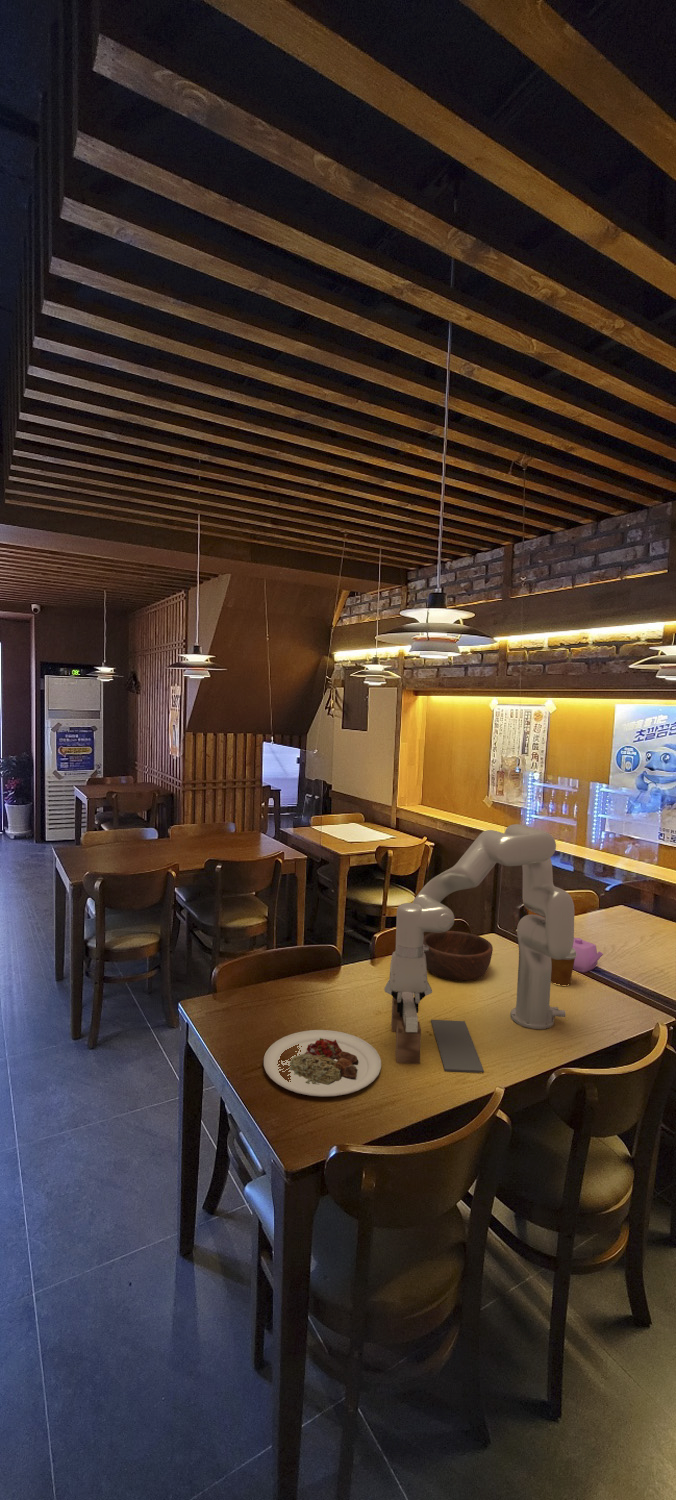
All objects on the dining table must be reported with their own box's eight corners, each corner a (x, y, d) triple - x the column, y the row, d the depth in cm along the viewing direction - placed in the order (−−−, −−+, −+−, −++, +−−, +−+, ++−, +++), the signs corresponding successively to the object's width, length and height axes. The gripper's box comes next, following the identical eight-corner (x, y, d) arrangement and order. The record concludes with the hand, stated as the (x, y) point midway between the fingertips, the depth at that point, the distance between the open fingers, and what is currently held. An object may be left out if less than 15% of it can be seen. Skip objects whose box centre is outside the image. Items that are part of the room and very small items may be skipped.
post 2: (418, 1055, 168) (419, 1021, 167) (419, 1063, 164) (421, 1029, 163) (395, 1054, 168) (396, 1020, 167) (396, 1062, 164) (398, 1028, 163)
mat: (464, 1023, 186) (464, 1021, 186) (483, 1073, 160) (484, 1070, 160) (431, 1021, 186) (431, 1019, 186) (444, 1071, 160) (444, 1068, 160)
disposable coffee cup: (577, 981, 219) (579, 947, 219) (571, 991, 211) (573, 956, 211) (549, 974, 224) (551, 941, 224) (542, 983, 216) (544, 949, 216)
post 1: (411, 1025, 184) (413, 994, 183) (413, 1032, 180) (414, 1001, 179) (391, 1024, 184) (392, 994, 183) (392, 1031, 180) (393, 1000, 179)
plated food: (286, 1114, 141) (286, 1100, 141) (249, 1047, 169) (249, 1035, 168) (402, 1086, 153) (403, 1073, 153) (350, 1028, 181) (351, 1017, 181)
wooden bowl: (420, 954, 239) (421, 927, 239) (487, 960, 236) (489, 933, 235) (420, 981, 215) (421, 952, 214) (495, 988, 211) (496, 958, 211)
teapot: (608, 971, 230) (610, 943, 229) (593, 977, 223) (594, 949, 223) (564, 955, 244) (565, 929, 243) (548, 961, 238) (550, 934, 237)
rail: (408, 994, 184) (409, 980, 184) (417, 1032, 162) (417, 1017, 162) (398, 993, 184) (399, 980, 184) (405, 1032, 162) (406, 1017, 162)
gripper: (437, 945, 176) (435, 1009, 177) (378, 943, 176) (377, 1007, 177) (441, 955, 168) (439, 1022, 169) (380, 954, 168) (378, 1020, 170)
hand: (407, 1014), depth 173 cm, fingers closed on rail, 3 cm apart
